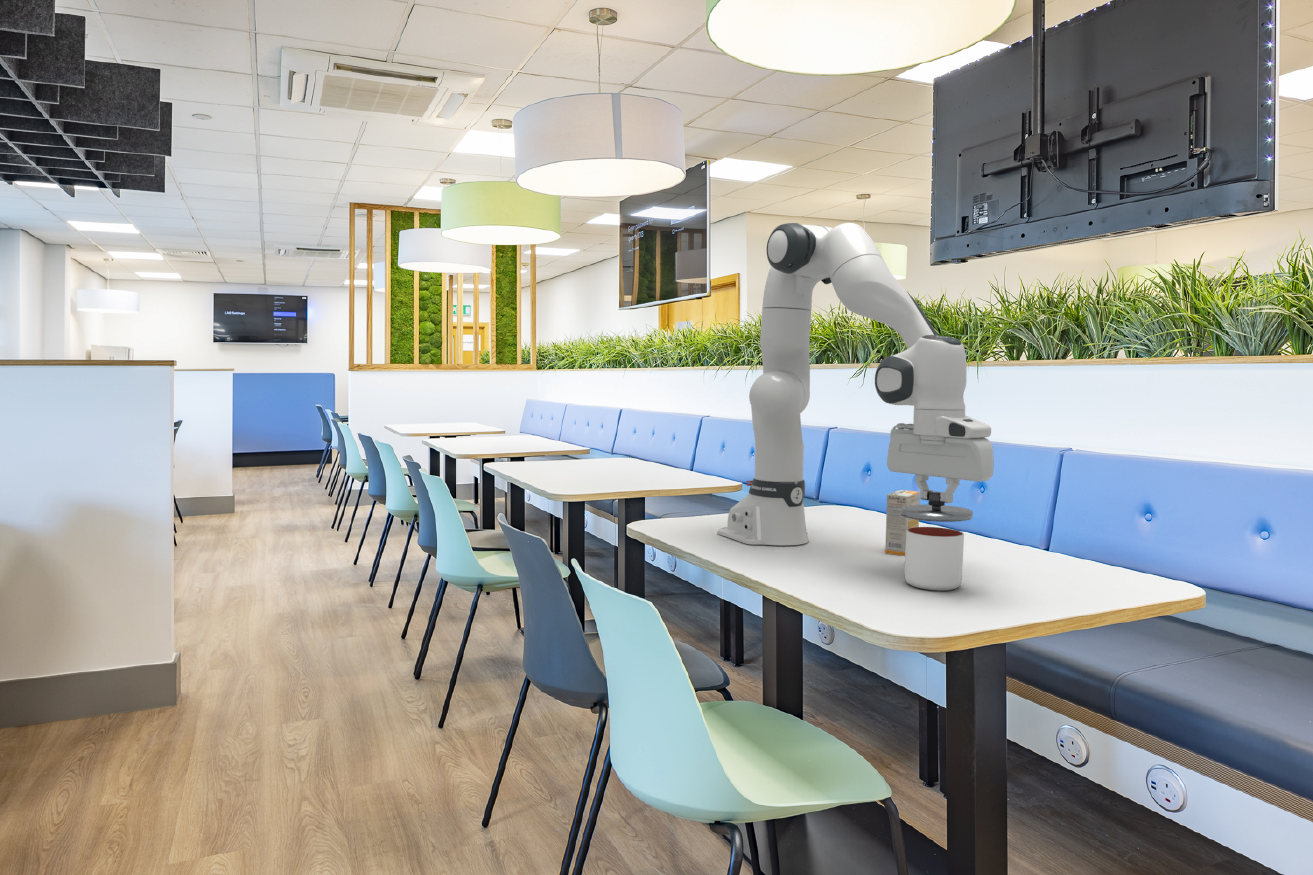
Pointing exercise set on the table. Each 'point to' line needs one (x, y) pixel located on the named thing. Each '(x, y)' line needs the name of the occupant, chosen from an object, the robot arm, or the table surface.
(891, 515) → the supplement box
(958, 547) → the cup
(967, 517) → the lid
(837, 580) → the table surface
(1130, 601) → the table surface
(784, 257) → the robot arm
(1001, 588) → the table surface
